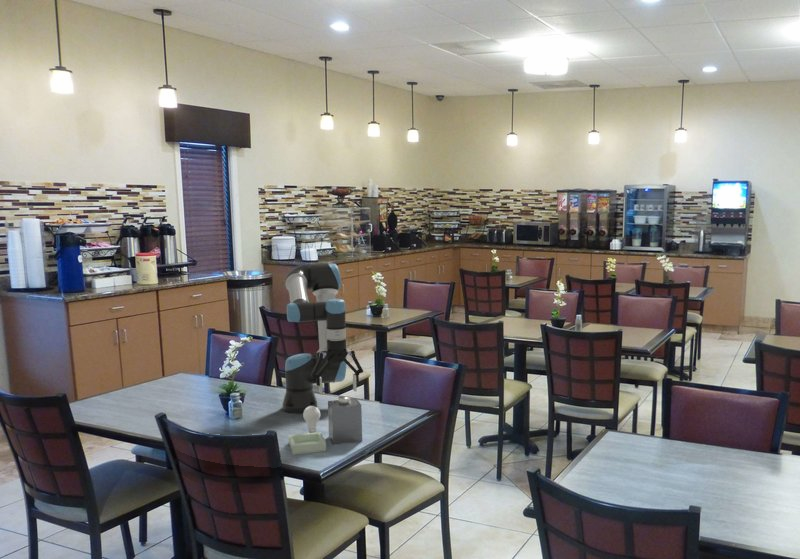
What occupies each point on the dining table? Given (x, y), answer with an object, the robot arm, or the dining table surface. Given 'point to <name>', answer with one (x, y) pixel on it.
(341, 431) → the housing
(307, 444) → the tray
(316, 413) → the light bulb
